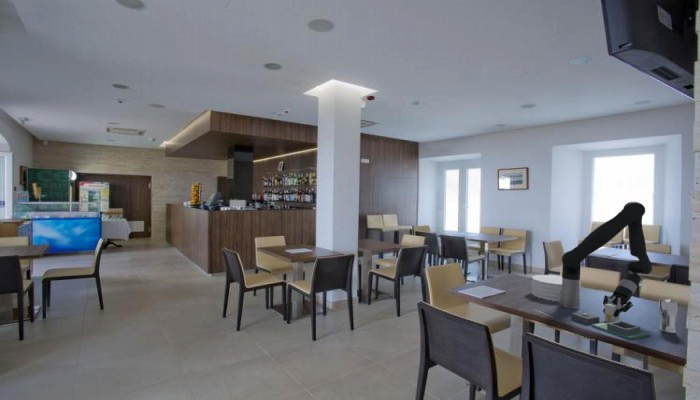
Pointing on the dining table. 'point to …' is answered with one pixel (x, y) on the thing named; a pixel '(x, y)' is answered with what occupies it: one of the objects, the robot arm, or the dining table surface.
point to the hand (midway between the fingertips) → (609, 314)
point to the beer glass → (667, 315)
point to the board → (621, 329)
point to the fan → (585, 318)
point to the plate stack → (547, 287)
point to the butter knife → (543, 313)
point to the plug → (610, 313)
